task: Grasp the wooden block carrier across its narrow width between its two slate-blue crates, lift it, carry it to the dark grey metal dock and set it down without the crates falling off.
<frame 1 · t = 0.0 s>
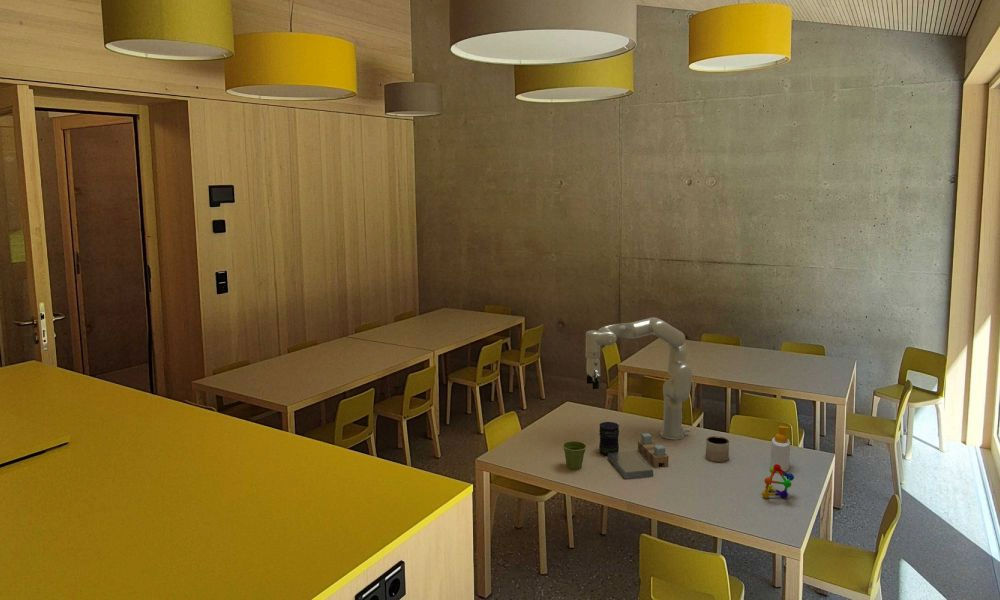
hand: (592, 386, 360), 31 cm above the table, tool pointing down, fingers open, 9 cm apart
wooden block carrier: (652, 458, 344), on the table, touching cargo a, cargo b
storage jar: (608, 453, 351), on the table
planter: (717, 458, 342), on the table
educational toy: (777, 496, 302), on the table
cargo b: (659, 454, 335), point 5 cm above the table, touching wooden block carrier
cargo a: (646, 442, 351), point 5 cm above the table, touching wooden block carrier
soap bottle: (779, 467, 331), on the table
plant pot: (574, 467, 335), on the table
dock: (629, 467, 333), on the table
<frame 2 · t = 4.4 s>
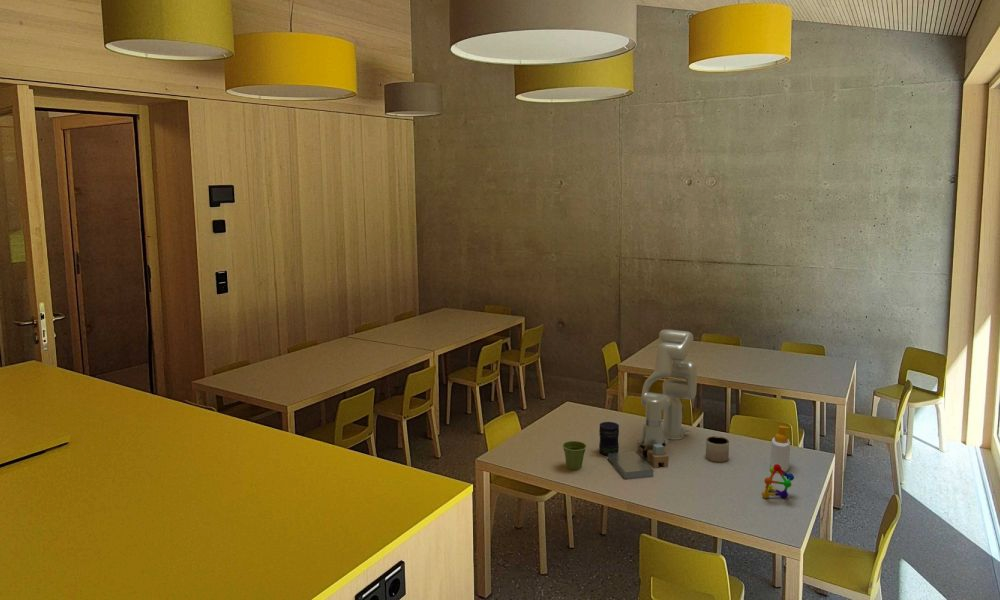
hand: (652, 456, 343), 1 cm above the table, tool pointing down, fingers closed on wooden block carrier, 7 cm apart
wooden block carrier: (652, 458, 344), on the table, touching cargo a, cargo b, gripper
cargo b: (658, 453, 336), point 5 cm above the table, touching wooden block carrier
cargo a: (647, 442, 350), point 5 cm above the table, touching wooden block carrier
everything else where it was.
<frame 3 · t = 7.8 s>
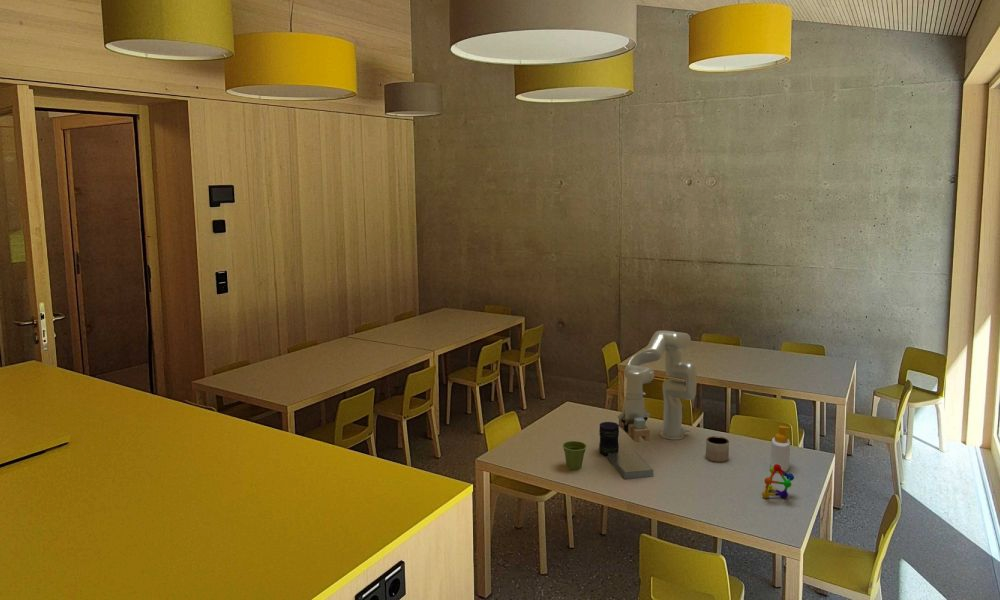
hand: (633, 430, 332), 18 cm above the table, tool pointing down, fingers closed on wooden block carrier, 7 cm apart
wooden block carrier: (633, 433, 332), point 17 cm above the table, touching cargo a, cargo b, gripper
cargo b: (639, 427, 324), point 22 cm above the table, touching wooden block carrier
cargo a: (628, 417, 338), point 22 cm above the table, touching wooden block carrier
everything else where it was.
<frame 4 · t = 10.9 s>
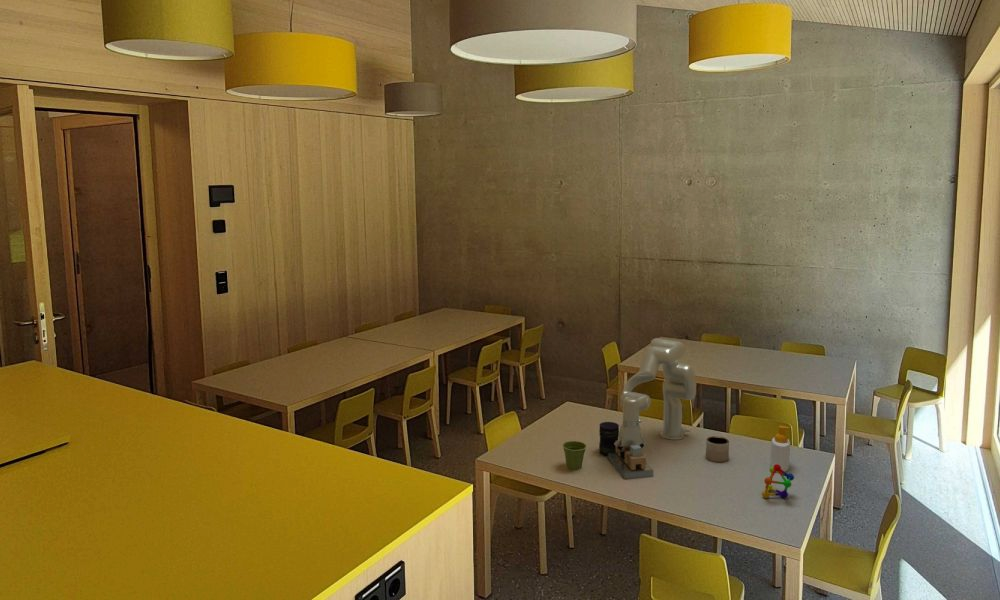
hand: (630, 457, 333), 5 cm above the table, tool pointing down, fingers closed on wooden block carrier, 7 cm apart
wooden block carrier: (630, 459, 333), point 4 cm above the table, touching cargo a, cargo b, gripper
cargo b: (635, 454, 325), point 9 cm above the table, touching wooden block carrier
cargo a: (625, 443, 339), point 9 cm above the table, touching wooden block carrier
everything else where it was.
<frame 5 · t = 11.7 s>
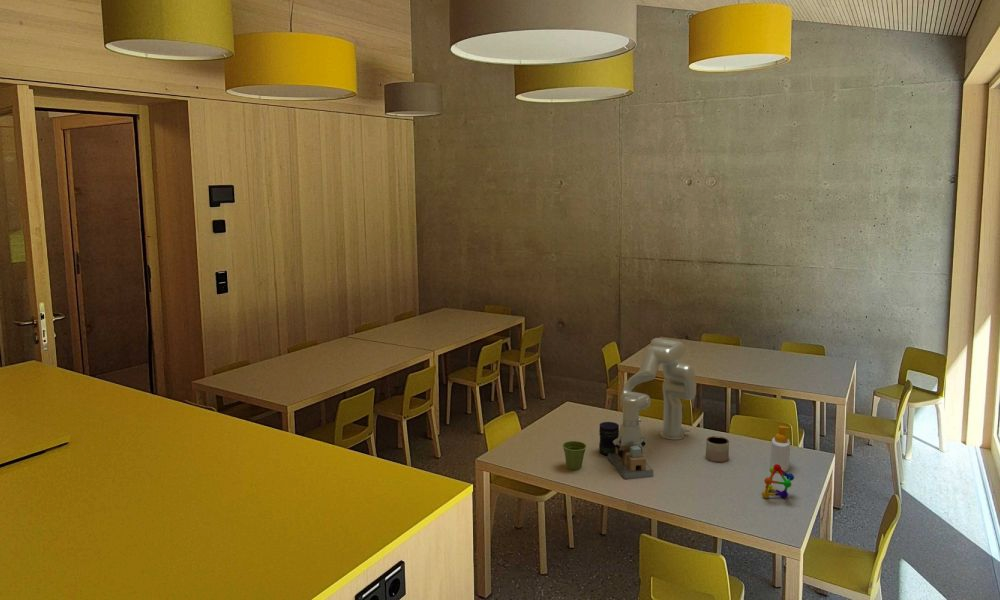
hand: (630, 456, 332), 6 cm above the table, tool pointing down, fingers open, 9 cm apart
wooden block carrier: (630, 461, 333), point 3 cm above the table, touching cargo a, cargo b, dock
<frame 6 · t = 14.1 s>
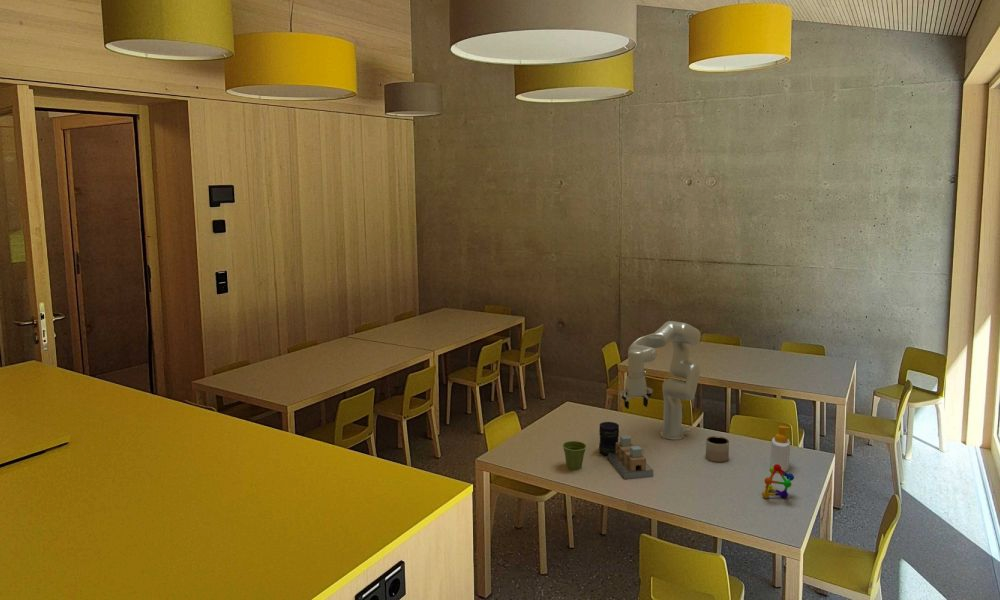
hand: (636, 407, 343), 25 cm above the table, tool pointing down, fingers open, 9 cm apart
nothing on the table moved.
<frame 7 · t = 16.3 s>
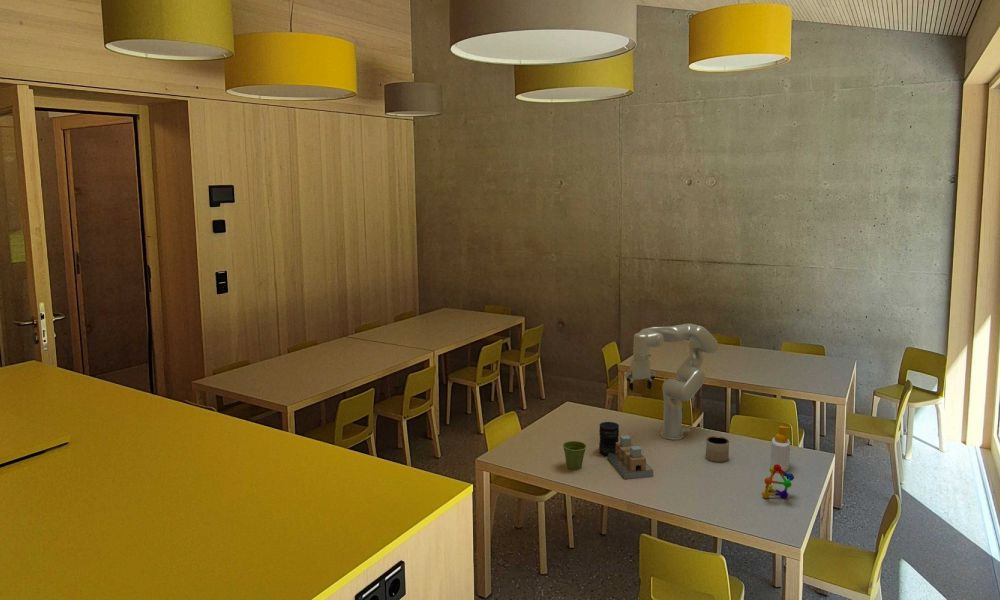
hand: (640, 389, 356), 30 cm above the table, tool pointing down, fingers open, 9 cm apart
nothing on the table moved.
at the end: wooden block carrier inside the target area on the dock (0.3 cm from its centre), point 3.1 cm above the dock's base; cargo a inside the target area on the wooden block carrier (6.9 cm from its centre), point 5.5 cm above the wooden block carrier's base; cargo b inside the target area on the wooden block carrier (7.0 cm from its centre), point 5.5 cm above the wooden block carrier's base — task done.
